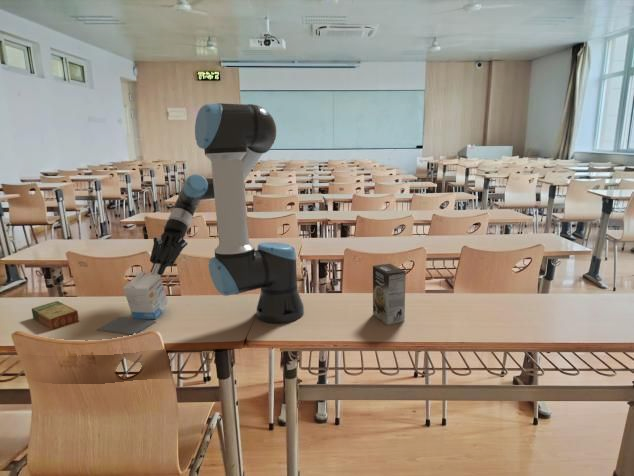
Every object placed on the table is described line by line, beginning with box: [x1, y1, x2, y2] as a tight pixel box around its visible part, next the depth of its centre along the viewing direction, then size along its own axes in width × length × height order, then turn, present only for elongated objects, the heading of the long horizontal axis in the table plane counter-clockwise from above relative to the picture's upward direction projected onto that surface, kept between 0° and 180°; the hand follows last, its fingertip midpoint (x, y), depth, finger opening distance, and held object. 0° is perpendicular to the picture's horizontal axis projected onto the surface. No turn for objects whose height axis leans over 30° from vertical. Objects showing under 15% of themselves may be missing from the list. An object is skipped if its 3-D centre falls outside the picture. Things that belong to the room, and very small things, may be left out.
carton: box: [31, 300, 80, 331], centre depth 138 cm, size 8×16×4 cm, turn 51°
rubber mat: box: [96, 316, 156, 335], centre depth 131 cm, size 14×9×1 cm
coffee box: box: [372, 263, 407, 326], centre depth 129 cm, size 9×6×16 cm
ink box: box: [122, 270, 169, 320], centre depth 137 cm, size 9×8×13 cm
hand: (152, 282), depth 141 cm, fingers closed
